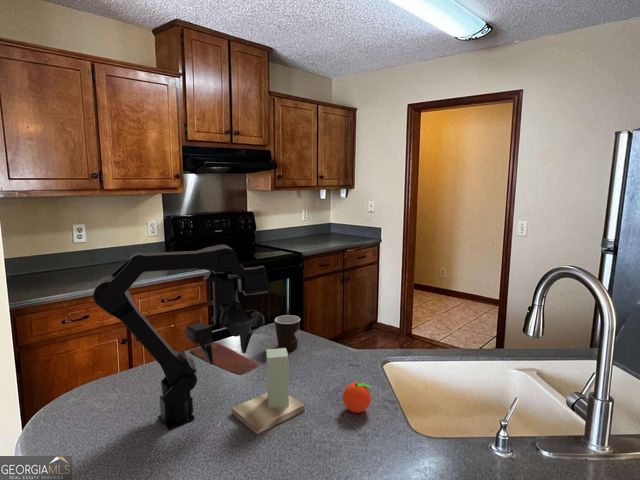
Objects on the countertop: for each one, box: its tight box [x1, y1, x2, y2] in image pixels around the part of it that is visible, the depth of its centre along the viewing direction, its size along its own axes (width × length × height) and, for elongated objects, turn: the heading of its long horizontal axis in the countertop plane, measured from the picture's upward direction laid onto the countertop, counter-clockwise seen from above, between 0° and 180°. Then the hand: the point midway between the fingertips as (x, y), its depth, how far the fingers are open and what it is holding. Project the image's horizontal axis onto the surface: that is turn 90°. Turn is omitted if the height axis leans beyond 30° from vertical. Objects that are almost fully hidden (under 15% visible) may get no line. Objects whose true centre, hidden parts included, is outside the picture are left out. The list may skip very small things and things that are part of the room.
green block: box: [265, 348, 290, 408], centre depth 101 cm, size 5×5×13 cm
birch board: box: [231, 392, 306, 435], centre depth 100 cm, size 14×11×2 cm
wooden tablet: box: [190, 341, 259, 375], centre depth 130 cm, size 27×10×2 cm, turn 48°
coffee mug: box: [274, 314, 301, 352], centre depth 139 cm, size 12×9×10 cm
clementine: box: [342, 382, 374, 414], centre depth 100 cm, size 8×7×7 cm
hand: (227, 358), depth 100 cm, fingers open, 9 cm apart
